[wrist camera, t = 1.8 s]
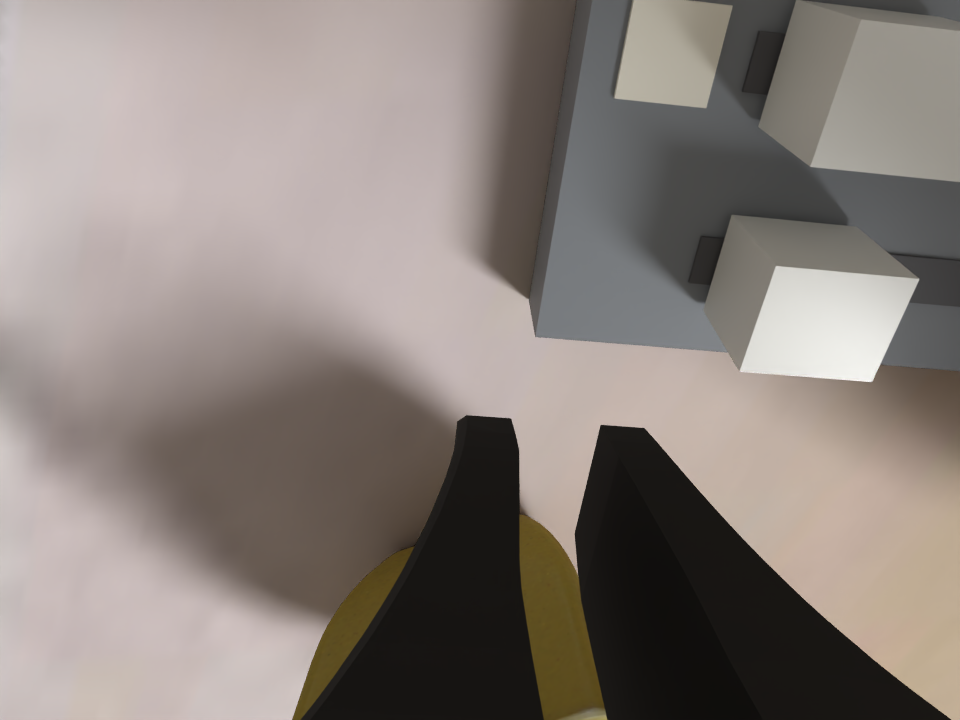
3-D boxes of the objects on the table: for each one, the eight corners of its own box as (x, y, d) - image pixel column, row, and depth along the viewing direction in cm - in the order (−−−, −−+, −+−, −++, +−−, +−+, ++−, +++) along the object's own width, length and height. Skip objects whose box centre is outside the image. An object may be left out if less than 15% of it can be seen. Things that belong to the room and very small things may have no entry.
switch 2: (856, 226, 17) (920, 278, 15) (819, 320, 19) (872, 381, 16) (731, 214, 17) (775, 266, 15) (703, 310, 18) (739, 371, 16)
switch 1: (939, 16, 15) (1030, 39, 13) (890, 140, 16) (964, 182, 14) (796, -1, 15) (861, 19, 12) (757, 126, 16) (810, 167, 14)
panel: (1439, -266, 15) (1577, -290, 13) (1067, 346, 22) (1121, 386, 20) (639, -395, 13) (668, -440, 12) (528, 300, 21) (536, 339, 19)
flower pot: (566, 448, 24) (618, 714, 16) (636, 618, 28) (703, 891, 20) (316, 526, 25) (253, 803, 17) (420, 676, 29) (406, 950, 22)
